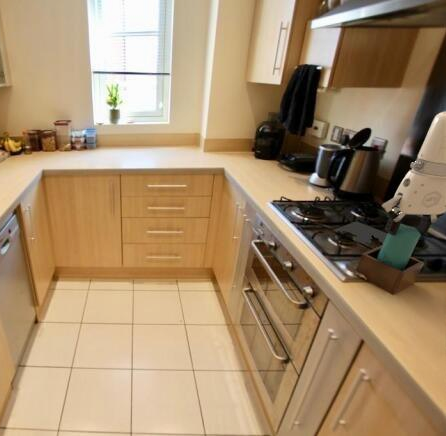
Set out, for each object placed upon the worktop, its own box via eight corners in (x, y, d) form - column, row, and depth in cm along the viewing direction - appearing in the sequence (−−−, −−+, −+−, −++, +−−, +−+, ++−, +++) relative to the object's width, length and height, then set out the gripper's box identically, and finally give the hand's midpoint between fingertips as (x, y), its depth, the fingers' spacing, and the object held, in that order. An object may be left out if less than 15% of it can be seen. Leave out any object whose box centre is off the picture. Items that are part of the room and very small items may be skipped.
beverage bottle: (403, 287, 86) (436, 222, 76) (376, 284, 87) (405, 221, 77) (389, 272, 91) (418, 210, 82) (364, 270, 92) (390, 209, 83)
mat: (398, 239, 107) (399, 238, 106) (375, 250, 101) (375, 249, 101) (355, 222, 118) (356, 221, 118) (332, 231, 112) (332, 230, 112)
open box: (413, 283, 87) (424, 262, 84) (393, 294, 83) (404, 273, 80) (374, 264, 95) (382, 244, 92) (353, 273, 91) (362, 253, 88)
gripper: (408, 172, 71) (379, 240, 79) (490, 172, 70) (452, 241, 78) (385, 162, 78) (360, 225, 86) (460, 162, 76) (427, 226, 85)
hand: (404, 232), depth 82 cm, fingers closed on beverage bottle, 6 cm apart
